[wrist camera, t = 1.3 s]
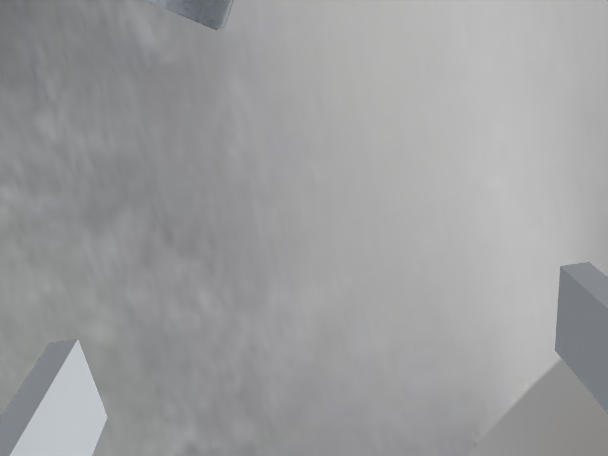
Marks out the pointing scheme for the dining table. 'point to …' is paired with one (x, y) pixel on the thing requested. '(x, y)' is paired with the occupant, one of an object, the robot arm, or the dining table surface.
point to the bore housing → (200, 10)
